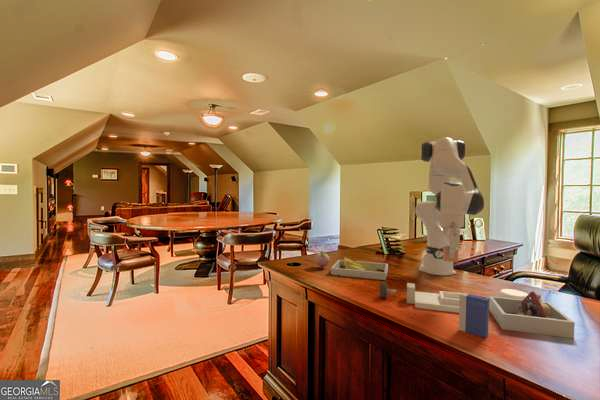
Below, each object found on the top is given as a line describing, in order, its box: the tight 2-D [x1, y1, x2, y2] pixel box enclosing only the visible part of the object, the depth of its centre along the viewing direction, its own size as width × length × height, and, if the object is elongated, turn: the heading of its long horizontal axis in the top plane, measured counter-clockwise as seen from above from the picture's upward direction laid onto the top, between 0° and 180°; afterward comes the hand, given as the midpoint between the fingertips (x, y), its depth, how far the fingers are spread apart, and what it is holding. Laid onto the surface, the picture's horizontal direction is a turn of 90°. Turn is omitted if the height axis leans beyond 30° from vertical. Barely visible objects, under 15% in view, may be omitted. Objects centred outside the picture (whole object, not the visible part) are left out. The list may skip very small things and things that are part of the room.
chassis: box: [406, 282, 463, 314], centre depth 124 cm, size 14×23×6 cm, turn 71°
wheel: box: [379, 282, 398, 299], centre depth 130 cm, size 6×7×6 cm
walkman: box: [458, 292, 490, 339], centre depth 99 cm, size 8×3×12 cm, turn 47°
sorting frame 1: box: [330, 259, 389, 281], centre depth 170 cm, size 21×28×4 cm
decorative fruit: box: [313, 250, 330, 269], centre depth 178 cm, size 9×8×10 cm
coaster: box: [499, 288, 529, 300], centre depth 129 cm, size 10×10×4 cm
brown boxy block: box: [443, 245, 459, 263], centre depth 125 cm, size 5×5×6 cm
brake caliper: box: [515, 290, 554, 319], centre depth 106 cm, size 11×11×12 cm
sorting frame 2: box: [488, 295, 576, 339], centre depth 107 cm, size 18×19×5 cm
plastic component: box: [343, 256, 378, 272], centre depth 171 cm, size 20×7×10 cm
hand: (450, 256), depth 125 cm, fingers closed on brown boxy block, 5 cm apart
